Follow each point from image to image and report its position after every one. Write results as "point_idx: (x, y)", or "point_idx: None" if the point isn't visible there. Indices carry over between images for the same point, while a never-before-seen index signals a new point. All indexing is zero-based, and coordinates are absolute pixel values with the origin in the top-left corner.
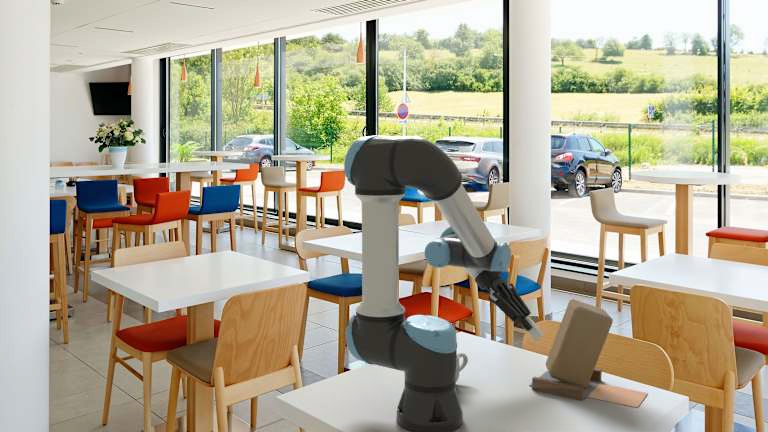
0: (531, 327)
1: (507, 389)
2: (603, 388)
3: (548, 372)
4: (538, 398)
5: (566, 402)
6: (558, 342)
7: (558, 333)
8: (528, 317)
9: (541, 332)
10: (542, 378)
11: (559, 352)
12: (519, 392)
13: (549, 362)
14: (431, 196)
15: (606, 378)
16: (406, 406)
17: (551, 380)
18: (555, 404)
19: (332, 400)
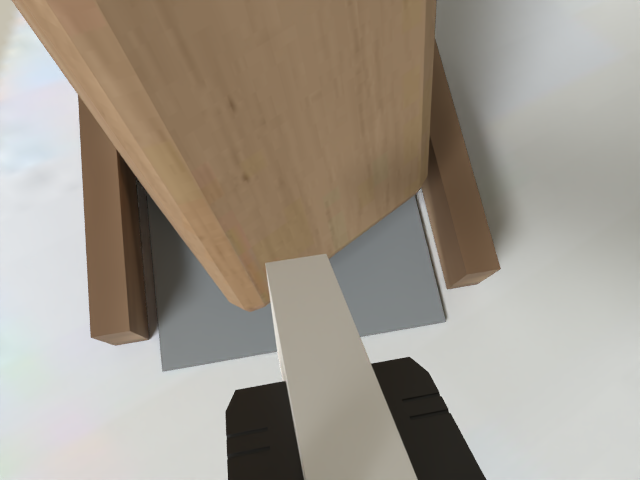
0: (392, 366)
1: (578, 383)
2: None
3: (178, 349)
4: (546, 202)
5: (485, 93)
6: (340, 90)
7: (225, 113)
8: (360, 469)
9: (297, 278)
10: (457, 224)
11: (431, 64)
12: (559, 311)
13: (332, 233)
14: None
15: (52, 88)
16: None
17: (444, 174)
18: (542, 116)
19: None
